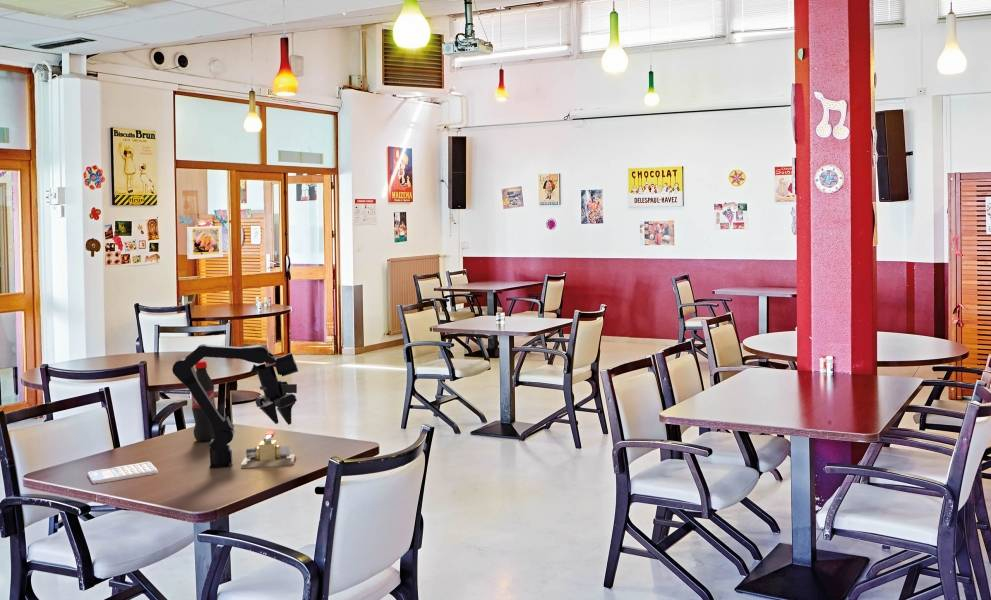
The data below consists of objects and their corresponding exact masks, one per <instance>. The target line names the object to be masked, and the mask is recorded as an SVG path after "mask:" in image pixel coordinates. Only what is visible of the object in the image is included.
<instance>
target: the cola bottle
mask: <svg viewBox="0 0 991 600" xmlns="http://www.w3.org/2000/svg"><path fill="white" fill-rule="evenodd" d="M207 368H208V364H207V361H205V360H200V361H199V362H198V363H197V364H196V365H194V369H196V370H195V372H196V375H197V378H198V381H199V382H200V384H201V385H202V387H203V388H204V390H205V392H206V393H207V395H208V396H209V398H210V399H211V401H212V403H213V404H214V406H215V407H216V400H215V385H214V382H213V381H212V379H211V377H210V375H209V374H208V371H207ZM190 394H191V412H192V414H193V415H192V416H193V419H194V428H193V437H194V439H195V440H196V441H197V442H200V443H205V442H211V439H212V438H213V437H214V433H213V431H212V427H211V424H210V422H209V420H208V418H207V417H206V415H205V414H204V412H203V411H202V409H201V407H200V406H199V404H198V403H197V401H196V400H195V398H194V397H193V395H192V393H191V392H190Z"/></svg>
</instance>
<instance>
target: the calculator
mask: <svg viewBox="0 0 991 600" xmlns="http://www.w3.org/2000/svg"><path fill="white" fill-rule="evenodd" d="M158 472H159V471H158V468H156V466H155V465H154V464H153V463H152V462H151V461H144V462H143V461H142V462H138V463H133V464H126V465H121V466H114V467H108V468H104V469H96V470H91V471H88V472H87V476H88V478H89V479H90V481H91V483H92V484H94V485H95V484H96V483H98V484H102V483H103V484H104V483H107V482H115V481H120V480H126V479H133V478H138V477H145V476H149V475H150V476H151V475H156V474H158Z"/></svg>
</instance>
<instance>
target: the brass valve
mask: <svg viewBox="0 0 991 600" xmlns="http://www.w3.org/2000/svg"><path fill="white" fill-rule="evenodd" d="M245 455H246V456H245V457H247V459H250V461H256V460H260V462H264V461H276V459H287V457H290V455H291V447H290V445H279V444H278V445H277V440H276V439H273V440H272V441H271V442H264V440H261V441H260V442H259V445H258V446H255V447H252V448H246V451H245Z"/></svg>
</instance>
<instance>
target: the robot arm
mask: <svg viewBox="0 0 991 600" xmlns="http://www.w3.org/2000/svg"><path fill="white" fill-rule="evenodd" d="M204 358H214V359H215V358H216V359H219V358H220V359H232V360H233V359H236V360H241V361H245V362H249V363H254V364H252V367H251V370H250V374H253V373H254V374H255V373H257V377H258V379H259V383H260V386H259V390H260V391H261V390H262V391H263V394H264V395H262V396H259V397H257V398H256V399H255V405H256V407H257V408H259V410H261V411H262V412H263V413H264V414H265V415H266V416H267V417H268V418H269V419H270V420H271V421H272V422H273V423H274V424H275V425H277V424H279V417H278V413H279V414H280V415H281V417H282V418H283V420H284V421H285V423H286V424H287V425H288V426H290V425H292V408H293V407H294V405H296V402H297V401H298V400H297V396H296V395H295V394H298V387H297V386H298V385H297V383H289V384H288V382H287V381H281V380H279V378H278V376H281V377H285V376H289V375H292V374H295V373H299V368H298V365H297V363H296V360H295V357H294V356H293V353H292V352H290V353H287V354H285V355H281V356H278V357H277V356H276V355H274V354H273V353H272V352H270V350H269V347H267V346H266V345H264V344H253V345H247V346H229V345H228V346H226V345H225V346H224V345H212V344H211V345H210V344H205V343H202V344H200V345H198V346H197V348H195V349H194V350H193V351H192V352H190V353H189V354H188V355H187V356H185V357H181V358H178V359H177V360H176V361H175V362H174V363H173V365H172V373H173V375H174V376H175V377H176V379H177V380H179V382H181V384H183V385H184V386H186V387H187V389H188V390H189V392H190V394H191V393H192V395H193V397H194V398H195V400H196V401H197V403H198V404H199V406H200V407H201V409H202V411H203V412H204V414H205V415H206V417H207V418H208V420H209V422H210V424H211V427H212V431H213V433H214V437H213V438H212V439H211V441H209V466H208V467H209V468H210V469H211V468H226V467H228V468H229V467H230V466H231V464H232V463H233V449H231V446H230V444H229V443H231V442H232V440H233V439H234V436H235V424H233V423H232V421H231V419H230V417H229V416H226V417H224V416H222V415H221V413H220V412H219V411H218V409H217V408H216V405H215V406H214V404H213V403H212V401H211V399H210V398H209V396H208V395H207V393H206V392H205V390H204V388H203V387H202V385H201V384H200V382H199V381H198V378H197V375H196V370H195V365H196V364H197V363H198V362H199V361H202V359H204ZM257 364H258V365H257ZM274 367H275V368H274ZM275 370H276V371H275ZM277 375H278V376H277ZM192 395H191V396H192ZM277 412H278V413H277ZM228 444H229V445H228Z"/></svg>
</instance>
